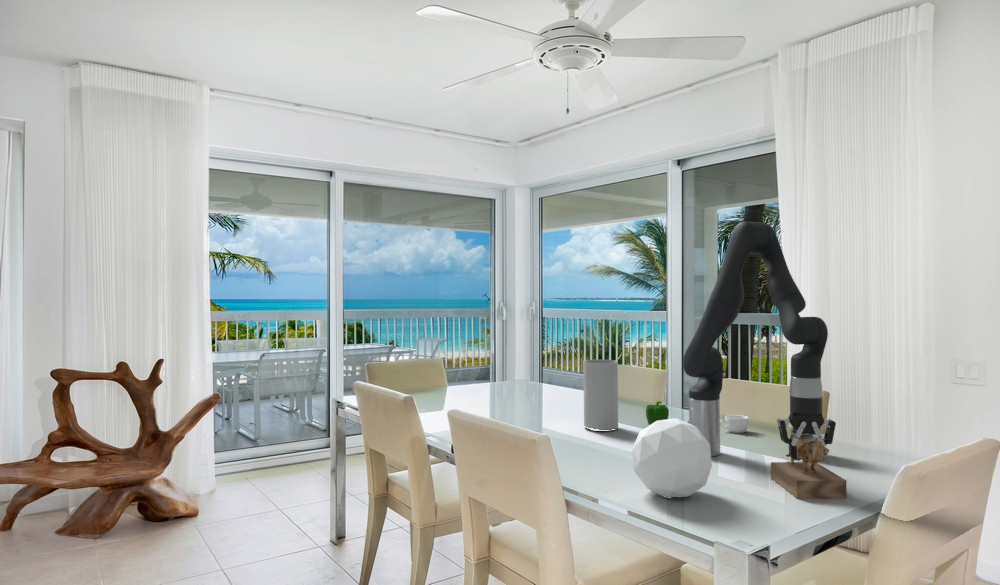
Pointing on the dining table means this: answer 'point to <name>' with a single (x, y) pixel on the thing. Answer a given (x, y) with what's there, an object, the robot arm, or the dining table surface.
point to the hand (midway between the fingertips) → (806, 459)
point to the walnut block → (808, 481)
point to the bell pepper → (656, 412)
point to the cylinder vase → (601, 394)
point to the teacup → (736, 423)
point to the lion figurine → (810, 453)
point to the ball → (672, 458)
